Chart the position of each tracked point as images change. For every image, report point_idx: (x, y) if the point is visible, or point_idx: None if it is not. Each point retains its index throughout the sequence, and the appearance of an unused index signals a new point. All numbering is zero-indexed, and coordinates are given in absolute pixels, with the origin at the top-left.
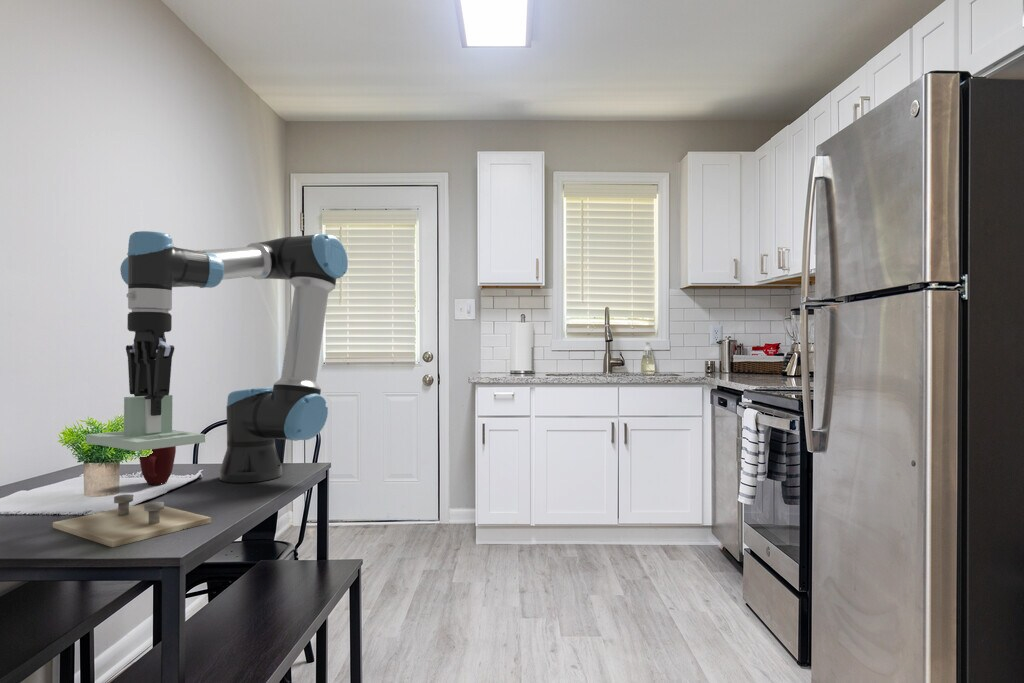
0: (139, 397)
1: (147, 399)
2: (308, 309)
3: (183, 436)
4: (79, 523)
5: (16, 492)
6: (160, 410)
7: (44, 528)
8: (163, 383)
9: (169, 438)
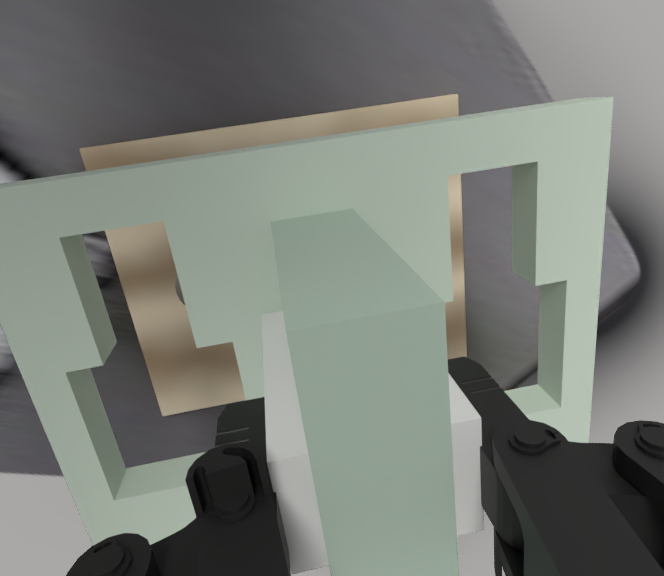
0: None
1: (482, 529)
2: None
3: (594, 236)
4: (229, 373)
5: None
6: (489, 380)
7: (156, 421)
8: None
9: (597, 315)
